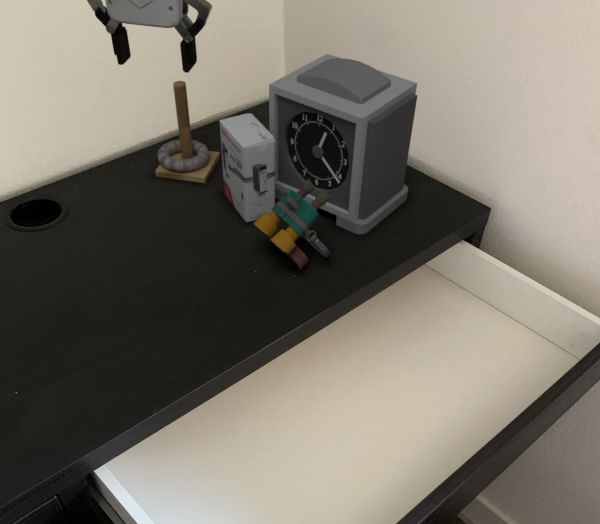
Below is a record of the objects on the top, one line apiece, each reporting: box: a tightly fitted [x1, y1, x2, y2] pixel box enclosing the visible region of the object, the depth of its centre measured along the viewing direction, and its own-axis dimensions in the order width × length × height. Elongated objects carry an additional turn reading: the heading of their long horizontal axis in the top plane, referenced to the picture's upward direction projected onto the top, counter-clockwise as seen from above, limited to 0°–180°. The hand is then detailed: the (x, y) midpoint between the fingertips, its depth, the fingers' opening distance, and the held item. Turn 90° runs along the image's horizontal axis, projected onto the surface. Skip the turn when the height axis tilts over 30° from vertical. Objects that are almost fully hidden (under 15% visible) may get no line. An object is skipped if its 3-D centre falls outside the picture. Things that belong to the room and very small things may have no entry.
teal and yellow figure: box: [253, 179, 331, 270], centre depth 87 cm, size 9×9×10 cm
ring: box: [156, 139, 210, 172], centre depth 103 cm, size 8×8×2 cm
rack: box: [154, 80, 221, 184], centre depth 100 cm, size 8×8×13 cm
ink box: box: [219, 112, 276, 223], centre depth 94 cm, size 9×5×12 cm, turn 27°
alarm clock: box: [268, 53, 418, 235], centre depth 94 cm, size 18×13×18 cm
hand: (156, 64), depth 94 cm, fingers open, 9 cm apart
